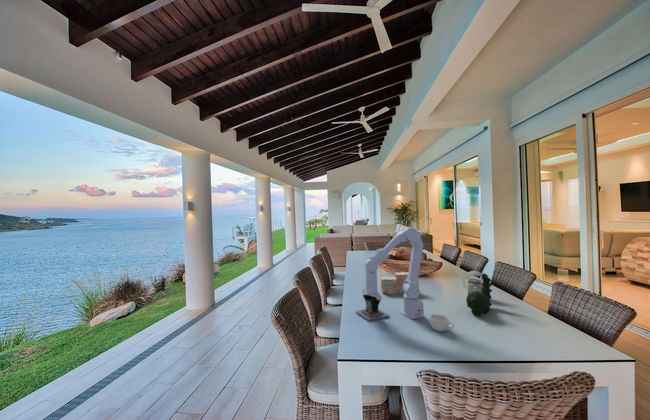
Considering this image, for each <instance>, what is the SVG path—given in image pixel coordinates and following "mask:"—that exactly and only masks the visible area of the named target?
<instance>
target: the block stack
mask: <svg viewBox="0 0 650 420" xmlns="http://www.w3.org/2000/svg"><path fill="white" fill-rule="evenodd" d="M365 309H366V312H367V313H369V314H370V315H371V314H375V313H378V309H379V308H378V309H377V312H373V311H372V304H371V301H370V299H369V300H366V301H365Z"/></svg>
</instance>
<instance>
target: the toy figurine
mask: <svg viewBox="0 0 650 420" xmlns="http://www.w3.org/2000/svg"><path fill="white" fill-rule="evenodd" d="M481 279H482V282H481V283H482V288H481V291H482V292H477V291H474V292H471V293H469V294H468V293H467V294H468V296H466V299H465V301H466V306H467V308H469V309H471V310H470V311H471V314H472V315H474V316H477V317H478V316H479V317H480V316H481V315H482V312H484V313H489V311H491V307H492V305H493V304H492V303H491V299H492V295H491V293H492V292H493V290H492V289H491V287H492V283H491V280H492V279H491V278H489V276H488V274H487V273H482V276H481Z"/></svg>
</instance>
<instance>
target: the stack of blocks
mask: <svg viewBox="0 0 650 420" xmlns="http://www.w3.org/2000/svg"><path fill="white" fill-rule="evenodd" d="M407 276H408V272H407V271H406V272H404V271H402V272H394V276H393V277H391V276H385V277H383V276H381V277H380V292H381V293H382V295H404V294H405V292H404V291H403V288H402V287H403V284H404V283H405V280H406V278H407Z"/></svg>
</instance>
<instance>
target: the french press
mask: <svg viewBox="0 0 650 420" xmlns="http://www.w3.org/2000/svg"><path fill="white" fill-rule="evenodd" d="M472 257H473V261H474V262H473V263H474V265H473V266H474V267H473V268H474V270H472V271H467V272H466V274H467V275H466V276H464V277H463V279H462V285H463V286H464V287H465V288H466V289H467V294H466V295H465V297H467V296H468V294H469V293H471V292H474V291H477V292H482V291H481V288H482V287H483V286H482V282H483V280H480V279H477V278H470V277H469V276H473V277H482V274H483V273H481V272H480V271H477V270H476V269H475V268H476V265H475V261H476V260H475V258H476V257H477V255H476V254H473V255H472ZM468 275H469V276H468ZM465 279H468V282H467V286H466V283H465V282H466V280H465Z"/></svg>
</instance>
